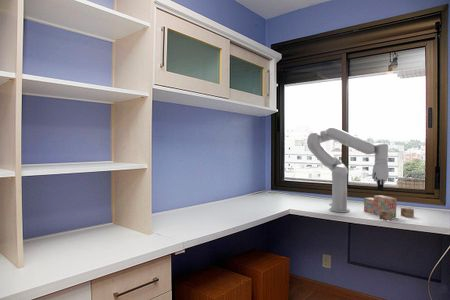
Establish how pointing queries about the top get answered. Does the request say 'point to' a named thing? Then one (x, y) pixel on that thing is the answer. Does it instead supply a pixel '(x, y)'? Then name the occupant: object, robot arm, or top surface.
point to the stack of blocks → (380, 205)
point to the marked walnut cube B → (407, 212)
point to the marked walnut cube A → (386, 215)
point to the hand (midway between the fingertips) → (380, 190)
